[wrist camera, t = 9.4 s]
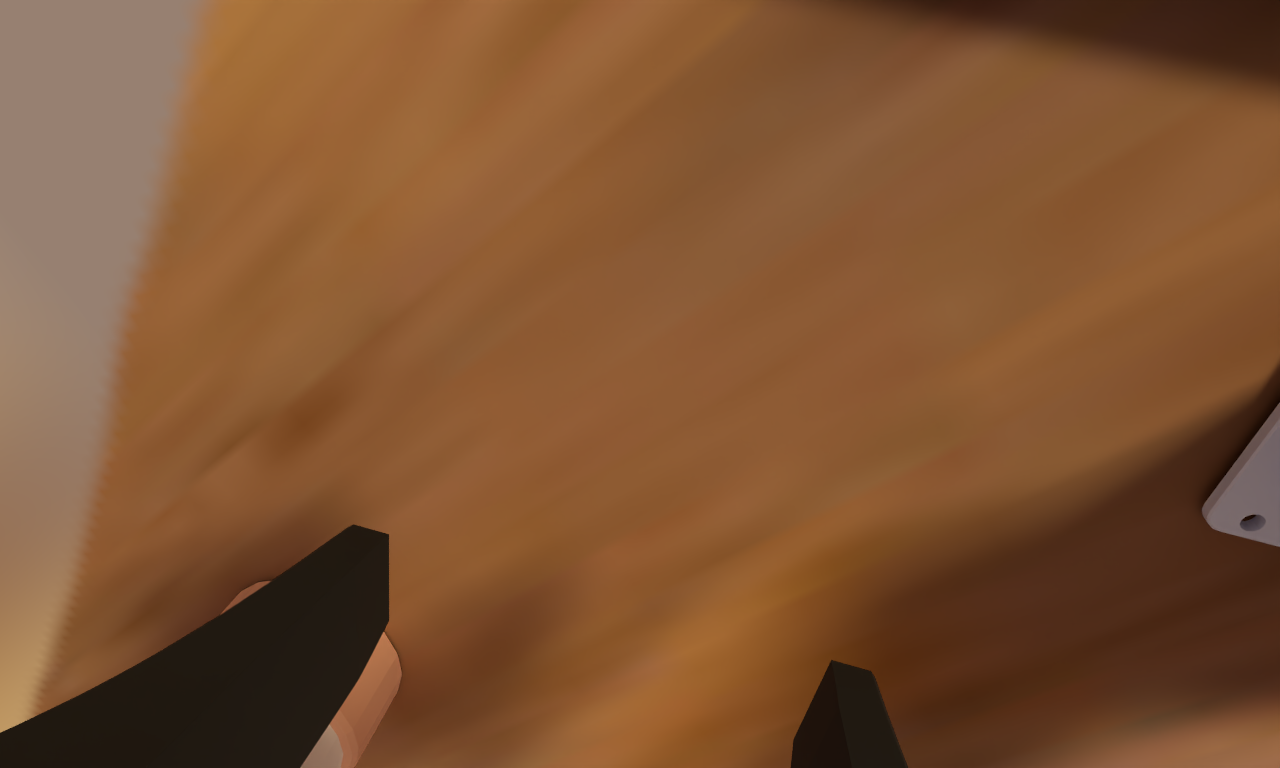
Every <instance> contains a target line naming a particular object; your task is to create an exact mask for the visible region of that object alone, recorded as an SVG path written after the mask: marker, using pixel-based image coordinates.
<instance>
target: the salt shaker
mask: <svg viewBox="0 0 1280 768" xmlns="http://www.w3.org/2000/svg"><path fill="white" fill-rule="evenodd" d="M269 582H271V581H264V582H257V583H256V584H254V585H252V586H250V587H248V588H246V589H244V590H242V591H241V592H240V593H239V594H238V595H237V596H236V597H235V598H234V599H233V601H232V602H231V603H230V604H229V605H228V606H227V607H226V608H225V609H224V611H223V612H222V613H224V612H225V611H227V610H228V609H230V608H231V607H233V606H234V605H236V604H237V603H239V602H240V601H242V600H243V599H245V598H246V597H248V596H250V595H251V594H253V593H254V592H256V591H257V590H259V589H260V588H262V587H263V586H265V585H266V584H268V583H269ZM222 613H221V614H222ZM221 614H220V615H221ZM401 677H402V671H401V667H400V662H399V658H398V654H397V652H396V651H395V649H394V647H393V646H392V644H391V643H390V641H389V639H388V638H387V636H386V634H385V633H384V632H383V634H382V636H381V638H380V640H379V642H378V644H377V646H376V648H375V650H374V652H373V654H372V656H371V657H370V659H369V661H368V663H367V665H366V667H365V669H364V671H363V673H362V674H361V676H360V678H359V680H358V682H357V683H356V685H355V686H354V688H353V689H352V691H351V692H350V694H349V695H348V697H347V698H346V700H345V701H344V703H343V704H342V706H341V708H340V709H339V711H338V712H337V714H336V715H335V717H334V718H333V720H332V721H331V723H330V724H329V726H328V727H327V729H326V730H325V732H324V733H323V735H322V736H321V738H320V739H319V741H318V742H317V744H316V745H315V747H314V748H313V750H312V751H311V753H310V754H309V756H308V757H307V759H306V760H305V762H304V763H303V765H302V766H301V767H300V768H354V767H355V766H356V764H357V762H358V761H359V759H360V757H361V755H362V754H363V752H364V750H365V748H366V747H367V745H368V743H369V741H370V740H371V738H372V736H373V734H374V732H375V731H376V729H377V727H378V725H379V724H380V722H381V720H382V718H383V717H384V715H385V713H386V711H387V710H388V708H389V706H390V704H391V703H392V701H393V699H394V697H395V695H396V694H397V692H398V689H399V685H400V681H401Z"/></svg>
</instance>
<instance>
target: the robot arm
mask: <svg viewBox="0 0 1280 768" xmlns="http://www.w3.org/2000/svg"><path fill="white" fill-rule="evenodd" d="M1253 514H1254V515H1256V516H1255V517H1254V518H1252V519H1250V520H1247V521H1241V520H1242V519H1244V518H1245V517H1246V516H1249V515H1253ZM1202 515H1203V517H1204V518H1205V520H1206V521H1207V523H1208V524H1209V525H1210V526H1211V527H1212V528H1213V529H1215V530H1217V531H1220V532H1224V533H1228V534H1232V535H1235V536H1239V537H1243V538H1247V539H1251V540H1255V541H1259V542H1263V543H1267V544H1270V545H1274V546H1278V547H1280V403H1279V404H1278V405H1277V407H1276V408H1275V409H1274V411H1273V412H1272V413H1271V415H1270V416H1269V417H1268V419H1267V420H1266V421H1265V423H1264V424H1263V426H1262V427H1261V428H1260V430H1259V431H1258V432H1257V434H1256V435H1255V436H1254V438H1253V439H1252V440H1251V442H1250V443H1249V444H1248V446H1247V447H1246V448H1245V450H1244V451H1243V452H1242V454H1241V455H1240V456H1239V458H1238V459H1237V460H1236V462H1235V463H1234V464H1233V466H1232V467H1231V468H1230V470H1229V471H1228V472H1227V474H1226V475H1225V476H1224V478H1223V479H1222V480H1221V482H1220V483H1219V485H1218V486H1217V487H1216V489H1215V490H1214V491H1213V493H1212V494H1211V495H1210V497H1209V498H1208V499H1207V501H1206V502H1205V503H1204V505H1203V508H1202ZM388 622H389V534H385V533H382V532H378V531H375V530H371V529H368V528H364V527H361V526H357V525H352V526H350V527H348V528H346V529H345V530H343V531H342V532H341V533H339V534H338V535H336V536H335V537H333V538H332V539H331V540H329V541H328V542H326V543H325V544H324V545H322V546H321V547H319V548H318V549H317V550H315V551H314V552H312V553H311V554H309V555H308V556H307V557H305V558H304V559H302V560H301V561H300V562H298V563H297V564H295V565H294V566H292V567H291V568H289V569H288V570H287V571H285V572H284V573H282V574H281V575H279V576H278V577H276V578H275V579H274V580H272V581H271V582H269V583H268V584H266V585H265V586H263V587H262V588H260V589H259V590H257V591H256V592H254V593H253V594H251V595H250V596H248V597H246V598H245V599H243V600H242V601H240V602H239V603H237V604H236V605H234V606H233V607H231V608H230V609H228V610H227V611H225V612H224V613H222V614H221V615H219V616H217V617H216V618H214V619H213V620H211V621H209V622H208V623H206V624H204V625H203V626H201V627H199V628H198V629H196V630H195V631H193V632H191V633H190V634H188V635H186V636H185V637H183V638H181V639H180V640H178V641H176V642H175V643H173V644H171V645H170V646H168V647H167V648H165V649H163V650H162V651H160V652H158V653H156V654H155V655H153V656H151V657H149V658H148V659H146V660H144V661H142V662H140V663H139V664H137V665H135V666H133V667H132V668H130V669H128V670H126V671H124V672H122V673H121V674H119V675H117V676H115V677H113V678H111V679H109V680H107V681H105V682H104V683H102V684H100V685H98V686H96V687H94V688H92V689H90V690H88V691H86V692H84V693H83V694H81V695H79V696H77V697H75V698H73V699H70V700H68V701H66V702H64V703H62V704H60V705H58V706H56V707H54V708H52V709H50V710H48V711H46V712H44V713H41V714H39V715H37V716H35V717H33V718H31V719H29V720H27V721H25V722H23V723H21V724H19V725H16V726H14V727H12V728H10V729H8V730H5V731H3V732H1V733H0V768H300V767H301V766H302V765H303V763H304V762H305V760H306V759H307V757H308V756H309V754H310V753H311V751H312V750H313V748H314V747H315V745H316V744H317V742H318V741H319V739H320V738H321V736H322V735H323V733H324V732H325V730H326V729H327V727H328V726H329V724H330V723H331V721H332V720H333V718H334V717H335V715H336V714H337V712H338V711H339V709H340V708H341V706H342V704H343V703H344V701H345V700H346V698H347V697H348V695H349V694H350V692H351V691H352V689H353V688H354V686H355V685H356V683H357V682H358V680H359V678H360V676H361V674H362V673H363V671H364V669H365V667H366V665H367V663H368V661H369V659H370V657H371V656H372V654H373V652H374V650H375V648H376V646H377V644H378V642H379V640H380V638H381V636H382V634H383V632H384V630H385V628H386V626H387V624H388ZM791 768H908V766H907V763H906V761H905V758H904V756H903V753H902V750H901V748H900V745H899V743H898V740H897V738H896V735H895V732H894V729H893V727H892V724H891V721H890V719H889V716H888V713H887V710H886V707H885V705H884V702H883V699H882V696H881V693H880V690H879V687H878V684H877V682H876V679H875V677H874V675H873V674H872V672H871V671H868V670H865V669H861V668H858V667H854V666H850V665H847V664H843V663H840V662H836V661H833V660H831V662H830V664H829V666H828V668H827V670H826V673H825V675H824V677H823V679H822V681H821V683H820V685H819V687H818V689H817V691H816V694H815V696H814V698H813V700H812V702H811V704H810V706H809V708H808V710H807V712H806V715H805V717H804V719H803V721H802V723H801V725H800V727H799V729H798V731H797V734H796V736H795V738H794V741H793V751H792V761H791Z"/></svg>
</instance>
